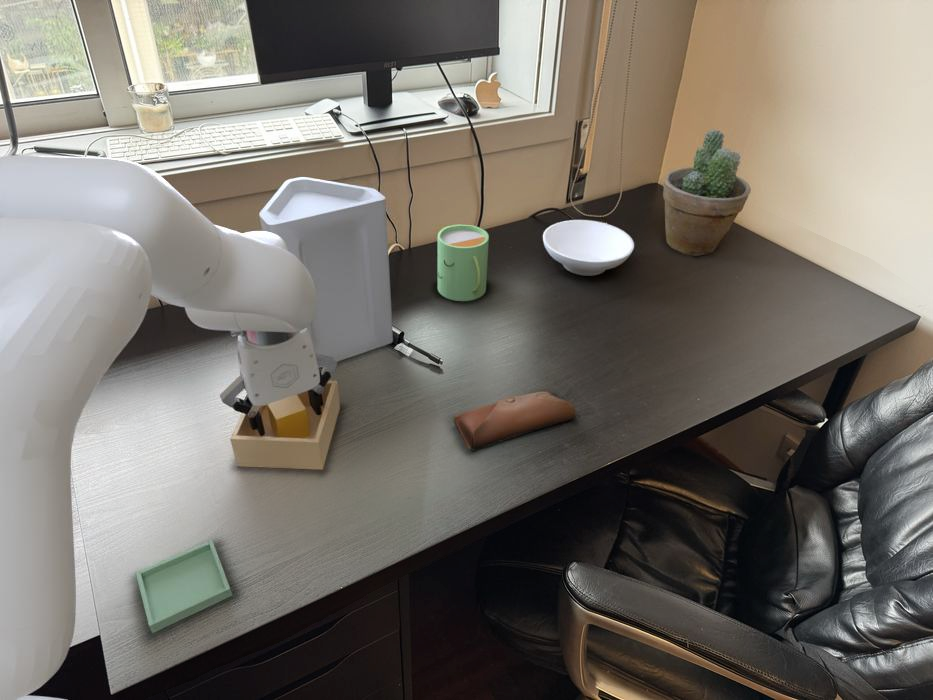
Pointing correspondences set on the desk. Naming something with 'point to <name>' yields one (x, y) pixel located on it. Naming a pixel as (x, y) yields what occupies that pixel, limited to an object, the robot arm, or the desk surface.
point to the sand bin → (288, 450)
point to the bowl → (587, 246)
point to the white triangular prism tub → (338, 260)
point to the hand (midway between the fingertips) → (288, 419)
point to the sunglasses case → (511, 418)
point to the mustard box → (289, 418)
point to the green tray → (182, 585)
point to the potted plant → (703, 198)
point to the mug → (462, 262)
